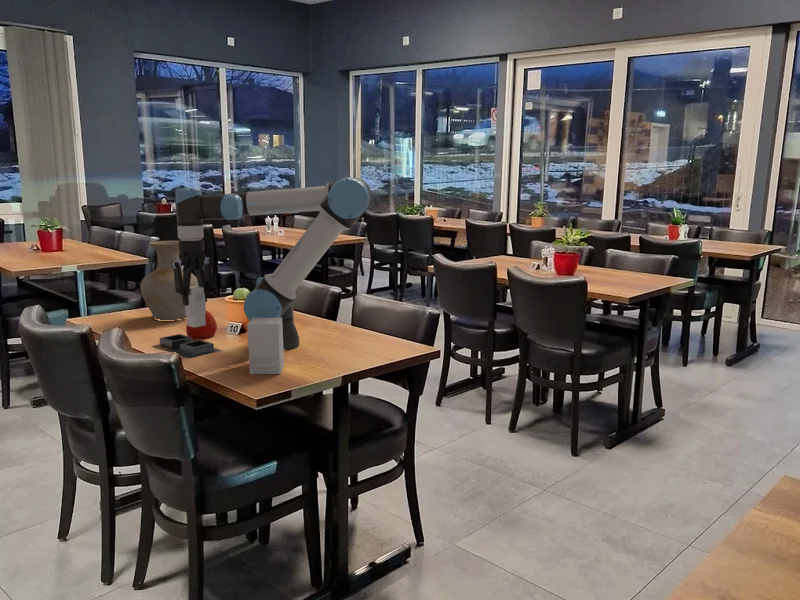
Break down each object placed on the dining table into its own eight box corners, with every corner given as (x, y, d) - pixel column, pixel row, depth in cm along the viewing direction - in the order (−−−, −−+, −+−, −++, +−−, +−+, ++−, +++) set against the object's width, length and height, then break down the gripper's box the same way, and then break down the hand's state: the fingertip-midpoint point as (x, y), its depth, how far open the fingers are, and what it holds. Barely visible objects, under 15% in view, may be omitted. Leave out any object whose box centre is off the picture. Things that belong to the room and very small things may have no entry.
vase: (187, 310, 279) (183, 238, 273) (209, 318, 262) (205, 242, 256) (134, 316, 265) (129, 241, 259) (154, 326, 248) (148, 246, 243)
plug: (207, 325, 208) (204, 287, 206) (196, 327, 205) (193, 289, 203) (198, 323, 211) (196, 286, 209) (187, 325, 208) (184, 287, 206)
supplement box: (284, 365, 199) (283, 316, 196) (280, 374, 190) (279, 323, 188) (254, 365, 199) (252, 317, 196) (248, 374, 190) (246, 323, 187)
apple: (223, 337, 233) (221, 308, 231) (203, 344, 224) (201, 313, 222) (200, 334, 237) (198, 305, 235) (179, 340, 228) (177, 311, 226)
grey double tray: (222, 354, 211) (222, 343, 210) (189, 362, 202) (188, 350, 202) (184, 342, 225) (183, 332, 225) (151, 349, 216) (150, 338, 216)
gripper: (208, 236, 212) (212, 308, 216) (158, 240, 199) (164, 317, 203) (221, 237, 207) (226, 311, 211) (172, 242, 194) (177, 320, 199)
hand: (195, 314), depth 207 cm, fingers closed on plug, 4 cm apart
